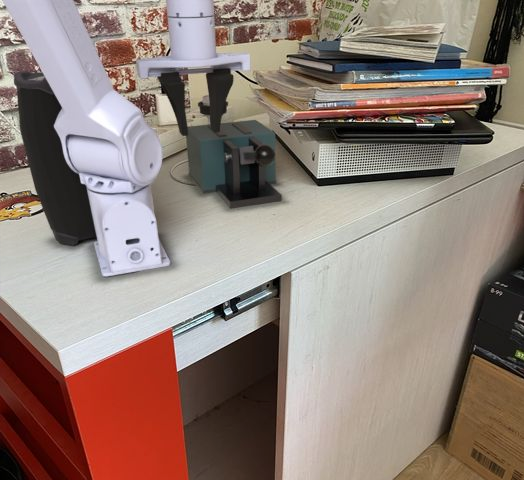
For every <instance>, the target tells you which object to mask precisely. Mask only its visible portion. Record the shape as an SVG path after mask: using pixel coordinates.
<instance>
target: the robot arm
mask: <svg viewBox="0 0 524 480" xmlns="http://www.w3.org/2000/svg"><path fill="white" fill-rule="evenodd" d="M1 1H2V2H3V4H4V6H5V8H6V9H7V11H8V13H9V15H10V17H11V19H12V21H13V22H14V24H15V26H16V28H17V30H18V31H19V33H20V35H21V36H22V39H23V40H24V42H25V43H26V46H27V48H28V49H29V51H30V53H31V55H32V57H33V58H34V60H35V62H36V64H37V65H38V67H39V69H40V70H41V71H40V72H43V74H44V76H45V78H46V80H47V81H48V83H49V85H50V87H51V88H52V90H53V92H54V94H55V96H56V97H57V99H58V101H59V103H60V105H61V106H62V109H61V111H60V112H59V114H58V116H57V119H56V121H55V124H54V128H55V130H56V131H57V133H58V135H59V137H60V140H61V143H62V148H63V153H64V157H65V160H66V162H67V164H68V165H69V167H70V168H71V169H72V170H73V171H74V172H76V173H78V174H79V176H80V181H81V183H82V184H85V185H86V186H87V192H88V197H89V202H90V207H91V212H92V216H93V221H94V226H95V231H96V236H97V237H96V240H95V241H94V242H93V246H94V250H95V253H96V257H97V260H98V264H99V267H100V272H101V275H102V276H103V277H105V278H106V277H112V276H113V277H114V276H118V275H119V276H120V275H123V274H124V275H125V274H130V273H136V272H141V271H146V270H147V271H148V270H153V269H158V268H165V267H169V266H171V260H170V258H169V255H168V254H167V252H166V250H165V248H164V246H163V244H162V242H161V240H160V238H159V230H158V229H159V228H158V223H157V217H156V215H155V207H154V199H153V193H152V191H153V190H152V185H151V184H153V183H155V182H156V178H157V177H158V175H159V173H160V170H161V168H162V164H163V156H164V155H163V153H164V151H163V145H162V142H161V140H160V136H159V134H158V132H157V131H156V129H154V128H153V127H152V126H151V125H150V124H149V123H148V122H147V121H146V119H145V117H144V114H143V112H142V109H140V108H139V107H138V106H136V105H135V104H134V103H133V102H131V101H130V100H129V99H127V98H125V97H124V96H123V95H122V94H121V93H119V92H118V91H117V90H115V88H114V86H113V84H112V82H111V80H110V78H109V76H108V73H107V71H106V69H105V66H104V65H103V62H102V59H101V58H100V56H99V53H98V51H97V49H96V46H95V45H94V43H93V40H92V38H91V36H90V34H89V31H88V29H87V27H86V24H85V22H84V20H83V19H82V16H81V14H80V12H79V9H78V8H77V5H76V3H75V1H74V0H1ZM165 5H166V16H167V25H168V26H167V27H168V36H169V47H170V55H164V56H156V57H147V58H136V59H135V63H136V64H135V65H136V71H137V72H136V73H137V77H138V78H139V79H140V80H142V79H149V78H153V77H155V78H157V80H158V82H159V84H160V86H161V87H162V89H163V91H164V93H165V95H166V98H167V99H168V102H169V104H170V107H171V108H172V111H173V113H174V117H175V119H176V123H177V127H178V133H179V134H180V135H181V137H186V136H188V127H189V126H188V121H187V115H186V84H185V82H183V79H182V77H181V76H183V75H196V74H198V75H199V74H205V79H206V85H207V92H208V95H209V102H210V125H211V130H213V131H214V132H215V133H217V132H220V124H221V123H222V117H223V116H222V113H223V109H224V105H225V102H226V101H227V99H228V96H229V94H230V91H231V89H232V86H233V85H234V81H235V80H234V79H235V78H234V75H233V74H232V72H237V71H242V72H250V71H251V54H250V53H249V52H246V51H245V52H217V43H216V42H217V41H216V23H215V4H214V0H165Z"/></svg>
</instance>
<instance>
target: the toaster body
mask: <svg viewBox="0 0 524 480" xmlns="http://www.w3.org/2000/svg"><path fill="white" fill-rule="evenodd" d="M187 127H188V136H185V143H186V152H187V153H186V154H187V162H188V163H187V164H188V177H189V179H190V180H191V181H192V182H193V183H194V185H195V186H196V187H197V188H198V189H199V191H200V192H201V193H202V195H205V194H206V195H207V194H213V193H216V185H222V184H225V165H224V146H223V141H227V140H230V141H231V142H232V143H233V144H235V145H236V146H237V147H243V146H249V138H254V137H255V138H256V139H258V140H259V141H260V142H262V143H263V144H266V145H269V146H271V147H272V148H273V150H274V152H275V153H276V132H275V131H273V130H272V129H271V128H269V127H267V126H266V125H264V124H263V123H261V122H260V121H259V120H256V119H250V120H239V121H228V122H221V124H220V132H217V133H215V132H214V131H213V130H211V125H210V124H209V125H208V124H199V125H193V126H192V125H191V126H190V125H189V126H187ZM239 171H240V182H244V181H250V171H249V164H244V165H239ZM265 181H267V182H268V183H269V184H270V185H271V186H272V185H276V184H277V180H276V158H275V159H274V161H273V163H272V164H271V165H269V166H266V167H265Z"/></svg>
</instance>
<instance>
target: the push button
mask: <svg viewBox="0 0 524 480" xmlns="http://www.w3.org/2000/svg"><path fill="white" fill-rule="evenodd" d="M228 106H229V101H227V100H226V102H225V105H224V109H223V113H222V117H223V116H224V115H225V114H227V112H228V108H227V107H228ZM197 107H199V113H200V114H201V115H203V117H206V118H207V125H209V124H210V102H209V94H207V95H203V96H202V100H201V101H198V102H197Z"/></svg>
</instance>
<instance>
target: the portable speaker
mask: <svg viewBox="0 0 524 480" xmlns="http://www.w3.org/2000/svg"><path fill="white" fill-rule="evenodd" d="M13 84H14V86H15V87H16V97H17V108H18V120H19V121H18V122H19V131H20V135H21V139H22V143H23V148H24V151H25V154H26V160H27V163H28V167H29V170H30V174H31V178H32V182H33V187H34V189H35V192H36V195H37V198H38V200H39V203H40V205H41V208H42V210H43V213H44V216H45V218H46V220H47V223H48V225H49V228H50V230H51V231H52V234H53V236H54V239H55V240H56V241H57V242H58V243H59V244H60V245H65V246H71V247H75V246H76V245H78V244H79V241H82V240H87V239H93V238H97V236H96V231H95V226H94V221H93V216H92V212H91V207H90V202H89V197H88V192H87V186H86V185H85V184H82V183H81V181H80V176H79V174H78V173H76V172H74V171H73V170H72V169H71V168H70V167H69V165H68V164H67V162H66V160H65V157H64V153H63V148H62V143H61V140H60V137H59V135H58V133H57V131H56V130H55V128H54V124H55V121H56V119H57V116H58V114H59V112H60V111H61V109H62V106H61V105H60V103H59V101H58V99H57V97H56V96H55V94H54V92H53V90H52V88H51V87H50V85H49V83H48V81H47V80H46V78H45V76H44V74H43V72H42V71H40V72H29V71H28V70H20V71H15V72H13Z"/></svg>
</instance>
